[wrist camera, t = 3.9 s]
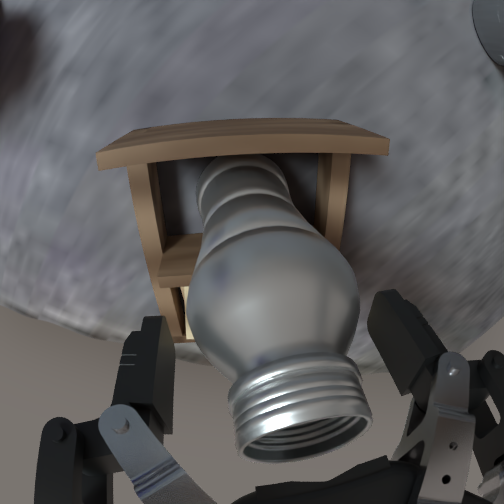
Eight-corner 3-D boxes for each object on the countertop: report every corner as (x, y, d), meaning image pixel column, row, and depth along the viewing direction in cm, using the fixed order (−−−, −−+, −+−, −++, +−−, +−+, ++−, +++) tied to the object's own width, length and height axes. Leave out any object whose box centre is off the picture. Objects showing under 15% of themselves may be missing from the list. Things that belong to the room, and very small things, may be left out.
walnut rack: (133, 130, 20) (95, 152, 13) (337, 120, 21) (389, 139, 14) (172, 322, 30) (166, 383, 23) (317, 308, 32) (340, 365, 25)
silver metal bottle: (198, 143, 21) (146, 391, 4) (285, 146, 22) (467, 348, 5) (197, 219, 24) (188, 478, 7) (276, 219, 25) (369, 453, 8)
